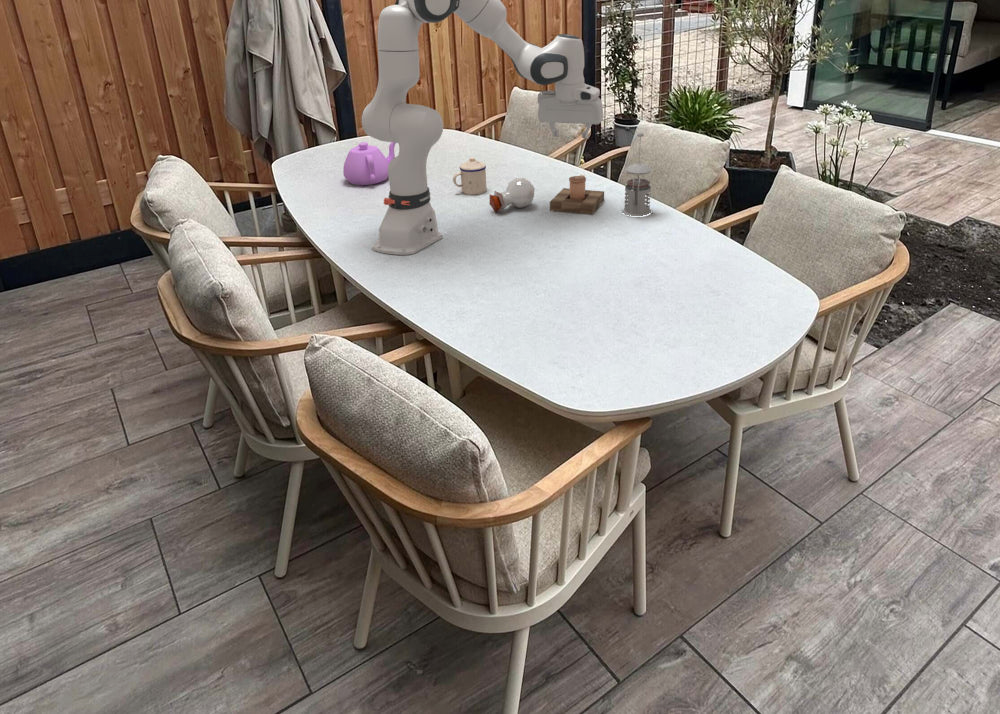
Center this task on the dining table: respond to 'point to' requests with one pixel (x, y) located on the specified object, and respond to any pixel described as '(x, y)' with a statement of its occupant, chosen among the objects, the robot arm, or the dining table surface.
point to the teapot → (367, 164)
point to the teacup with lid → (472, 177)
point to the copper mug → (577, 187)
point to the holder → (577, 202)
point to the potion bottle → (513, 195)
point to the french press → (637, 189)
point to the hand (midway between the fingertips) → (570, 137)
